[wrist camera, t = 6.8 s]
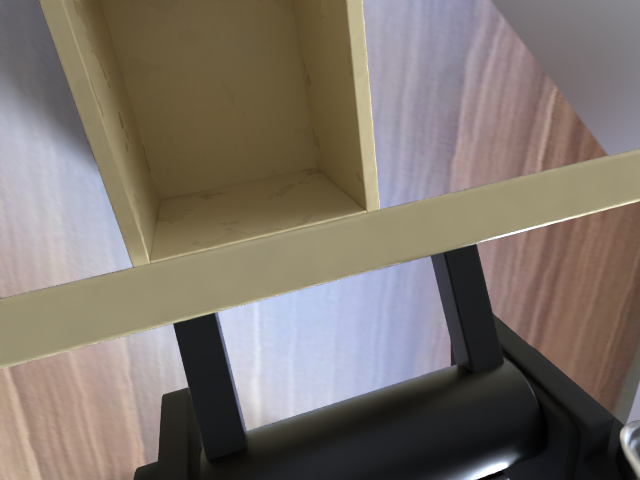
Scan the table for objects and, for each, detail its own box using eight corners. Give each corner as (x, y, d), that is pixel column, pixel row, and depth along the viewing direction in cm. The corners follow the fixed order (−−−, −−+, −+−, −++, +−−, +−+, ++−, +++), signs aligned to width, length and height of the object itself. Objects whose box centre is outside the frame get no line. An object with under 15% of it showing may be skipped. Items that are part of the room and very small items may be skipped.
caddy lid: (-203, 345, 5) (-81, 817, 5) (717, 129, 7) (789, 446, 7) (134, 275, 21) (161, 384, 21) (383, 216, 23) (406, 314, 23)
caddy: (69, -55, 24) (-7, -126, 15) (291, -77, 27) (350, -150, 17) (152, 209, 31) (137, 279, 21) (324, 172, 33) (381, 220, 24)
